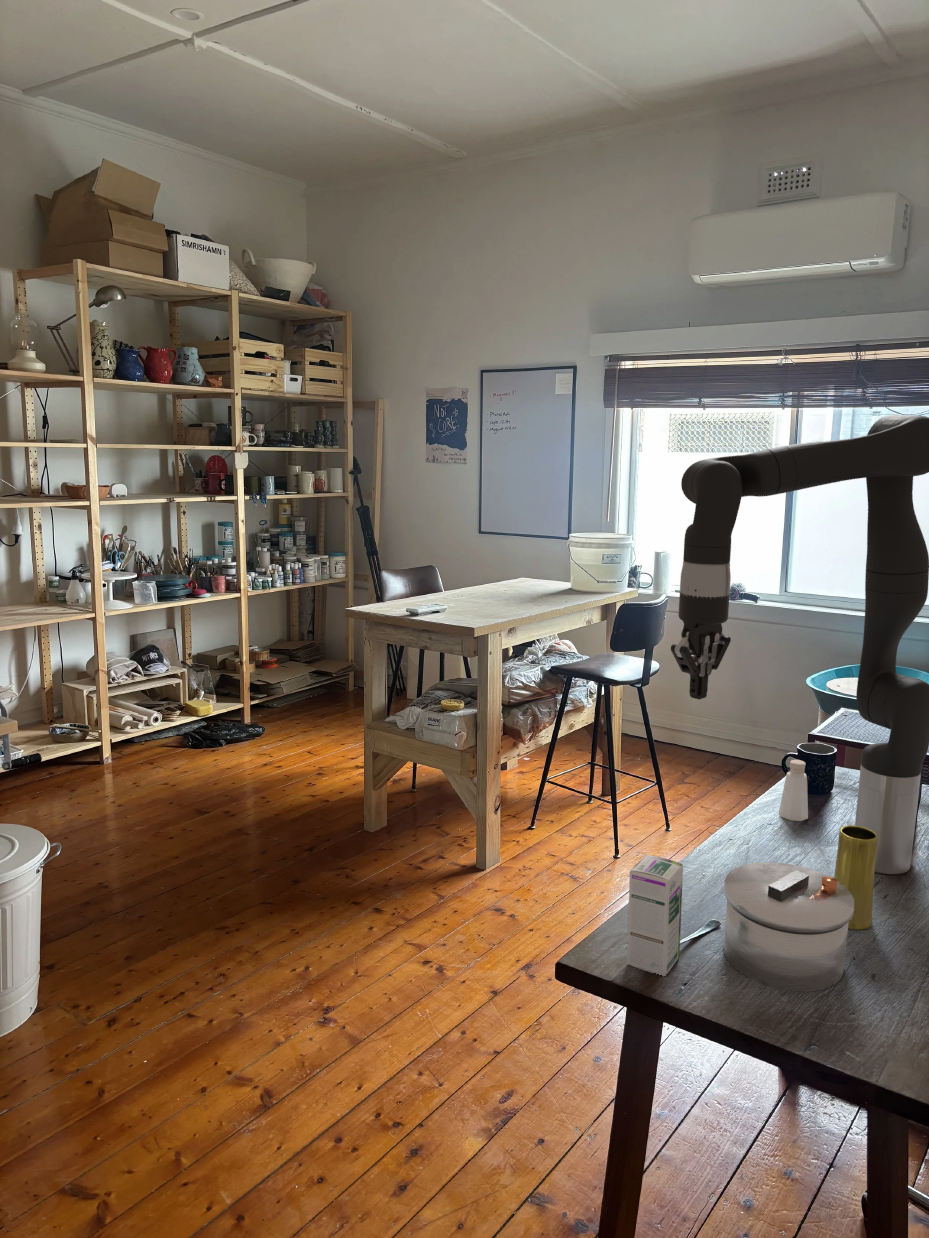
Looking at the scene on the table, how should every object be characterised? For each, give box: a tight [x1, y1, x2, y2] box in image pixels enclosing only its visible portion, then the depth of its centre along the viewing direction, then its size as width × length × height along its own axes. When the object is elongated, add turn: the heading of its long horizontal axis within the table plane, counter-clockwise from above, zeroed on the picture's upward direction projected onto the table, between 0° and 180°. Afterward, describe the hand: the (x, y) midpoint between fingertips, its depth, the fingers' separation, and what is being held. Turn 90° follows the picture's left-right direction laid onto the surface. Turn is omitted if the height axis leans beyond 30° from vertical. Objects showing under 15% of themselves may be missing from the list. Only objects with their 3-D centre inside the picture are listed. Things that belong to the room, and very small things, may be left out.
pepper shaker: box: [778, 759, 809, 822], centre depth 174 cm, size 5×5×11 cm
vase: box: [833, 824, 878, 931], centre depth 137 cm, size 6×6×14 cm
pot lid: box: [723, 861, 854, 932], centre depth 126 cm, size 17×17×3 cm
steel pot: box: [723, 899, 849, 993], centre depth 127 cm, size 16×16×9 cm
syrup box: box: [626, 854, 684, 977], centre depth 125 cm, size 6×6×14 cm
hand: (698, 697), depth 145 cm, fingers closed
